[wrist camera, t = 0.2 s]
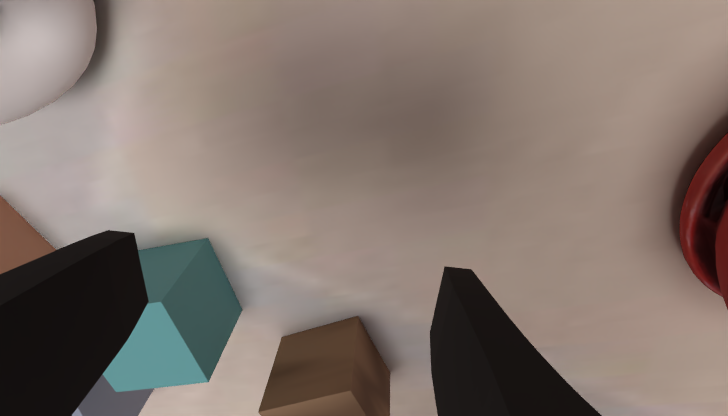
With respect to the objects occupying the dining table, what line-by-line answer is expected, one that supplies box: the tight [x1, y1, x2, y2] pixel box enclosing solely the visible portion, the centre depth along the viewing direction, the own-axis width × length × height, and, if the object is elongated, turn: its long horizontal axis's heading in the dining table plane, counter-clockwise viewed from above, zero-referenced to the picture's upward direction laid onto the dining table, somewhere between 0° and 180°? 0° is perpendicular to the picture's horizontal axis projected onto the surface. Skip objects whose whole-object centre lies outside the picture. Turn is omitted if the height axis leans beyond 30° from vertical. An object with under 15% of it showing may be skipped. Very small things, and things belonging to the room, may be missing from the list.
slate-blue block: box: [72, 374, 154, 416], centre depth 24 cm, size 5×5×5 cm
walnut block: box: [259, 316, 390, 416], centre depth 23 cm, size 5×5×5 cm
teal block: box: [103, 238, 242, 392], centre depth 21 cm, size 5×5×5 cm
